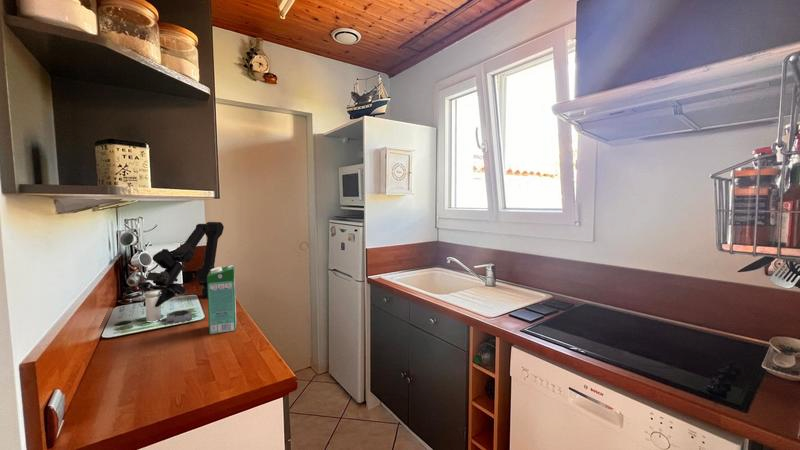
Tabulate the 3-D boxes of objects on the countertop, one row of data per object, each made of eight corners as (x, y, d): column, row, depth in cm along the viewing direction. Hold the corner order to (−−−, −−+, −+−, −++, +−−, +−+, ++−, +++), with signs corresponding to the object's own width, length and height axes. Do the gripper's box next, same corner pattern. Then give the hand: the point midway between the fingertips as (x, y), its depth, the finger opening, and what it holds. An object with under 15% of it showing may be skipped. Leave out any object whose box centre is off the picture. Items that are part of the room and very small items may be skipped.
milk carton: (211, 325, 133) (209, 265, 130) (236, 322, 136) (234, 263, 134) (209, 334, 125) (206, 270, 122) (235, 330, 128) (233, 268, 126)
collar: (191, 314, 145) (191, 308, 145) (191, 320, 138) (191, 314, 138) (167, 318, 140) (166, 312, 140) (165, 325, 133) (165, 318, 133)
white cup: (161, 317, 141) (160, 289, 140) (160, 321, 137) (159, 292, 136) (146, 319, 138) (145, 290, 137) (145, 323, 134) (144, 293, 133)
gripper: (139, 263, 140) (116, 296, 131) (178, 265, 138) (158, 298, 128) (156, 276, 149) (135, 308, 139) (193, 278, 147) (175, 310, 137)
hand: (150, 306), depth 136 cm, fingers closed on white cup, 5 cm apart
